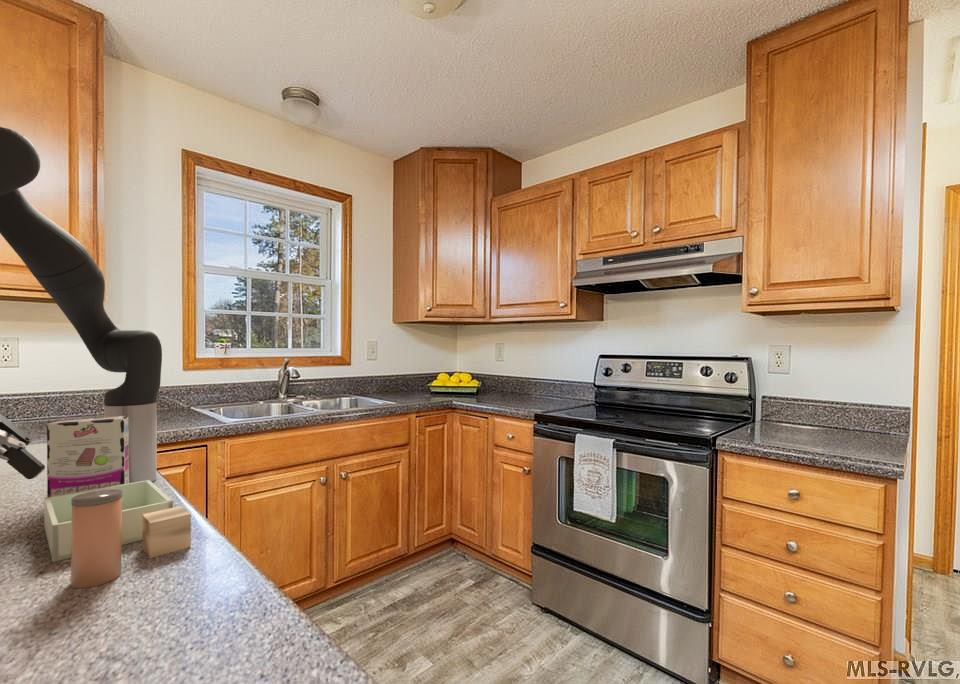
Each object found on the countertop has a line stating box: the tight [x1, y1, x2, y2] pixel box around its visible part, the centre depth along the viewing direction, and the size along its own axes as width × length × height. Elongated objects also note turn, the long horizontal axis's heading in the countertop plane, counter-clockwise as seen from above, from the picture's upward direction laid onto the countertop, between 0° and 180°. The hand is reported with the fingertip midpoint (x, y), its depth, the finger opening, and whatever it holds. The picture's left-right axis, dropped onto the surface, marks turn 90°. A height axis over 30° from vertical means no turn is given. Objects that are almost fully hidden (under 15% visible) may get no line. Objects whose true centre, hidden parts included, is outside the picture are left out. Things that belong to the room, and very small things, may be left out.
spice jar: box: [70, 489, 123, 589], centre depth 60 cm, size 5×5×11 cm
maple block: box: [141, 505, 192, 559], centre depth 69 cm, size 5×5×5 cm
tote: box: [43, 480, 174, 563], centre depth 76 cm, size 17×14×5 cm
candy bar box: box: [46, 416, 129, 498], centre depth 87 cm, size 11×5×16 cm, turn 117°
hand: (12, 482), depth 58 cm, fingers open, 8 cm apart
